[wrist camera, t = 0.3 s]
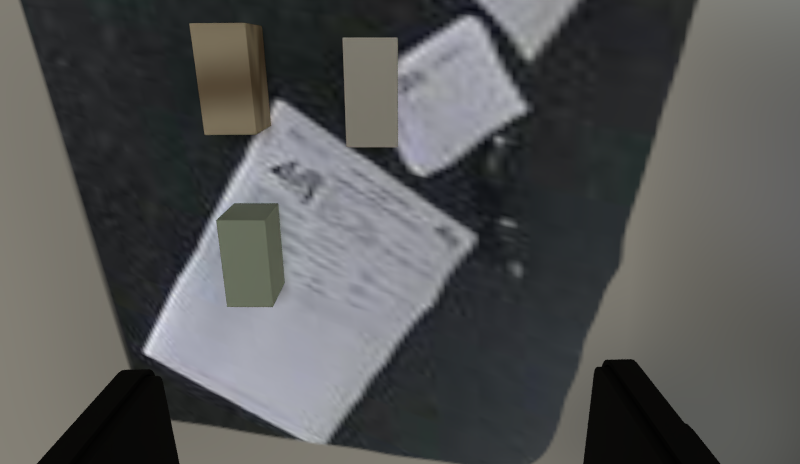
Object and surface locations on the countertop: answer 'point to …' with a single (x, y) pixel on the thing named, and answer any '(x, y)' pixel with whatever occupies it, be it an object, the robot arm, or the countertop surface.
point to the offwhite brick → (371, 91)
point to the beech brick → (231, 77)
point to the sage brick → (251, 254)
